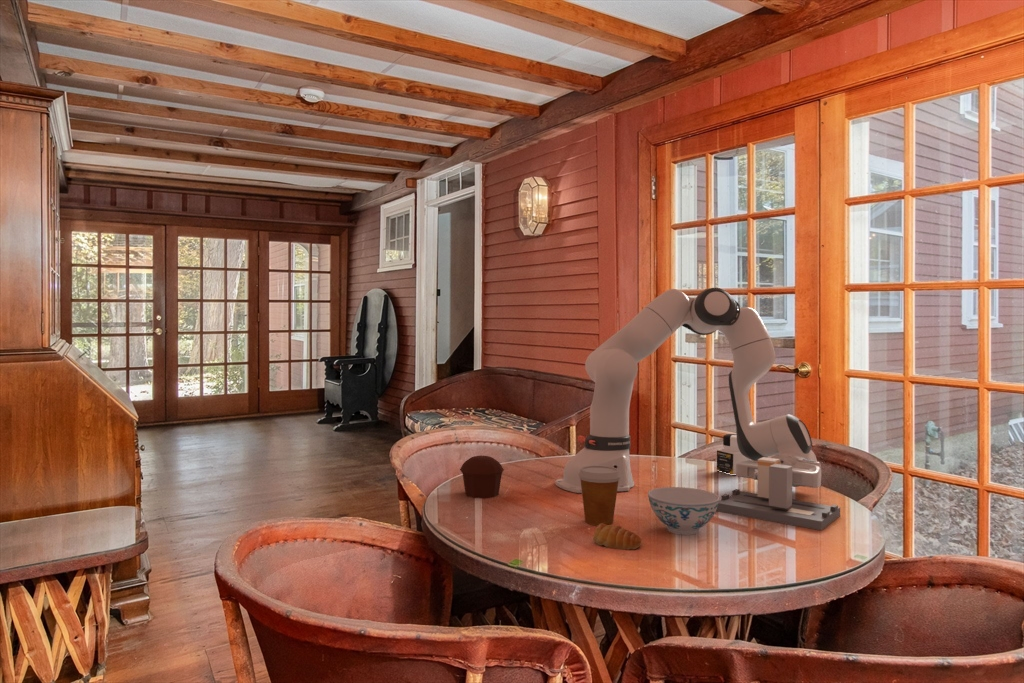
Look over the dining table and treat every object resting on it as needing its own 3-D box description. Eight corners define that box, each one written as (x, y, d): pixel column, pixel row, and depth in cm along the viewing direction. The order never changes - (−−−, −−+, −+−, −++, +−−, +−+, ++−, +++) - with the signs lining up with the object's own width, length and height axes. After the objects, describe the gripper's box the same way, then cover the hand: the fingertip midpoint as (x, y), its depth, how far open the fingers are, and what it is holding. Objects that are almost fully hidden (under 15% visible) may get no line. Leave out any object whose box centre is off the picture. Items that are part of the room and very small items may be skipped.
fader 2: (768, 508, 150) (769, 466, 150) (774, 504, 153) (774, 463, 153) (786, 511, 148) (787, 468, 148) (792, 507, 151) (792, 466, 151)
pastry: (646, 545, 131) (646, 526, 131) (634, 554, 125) (634, 535, 125) (603, 537, 136) (603, 519, 136) (590, 546, 130) (590, 527, 130)
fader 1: (757, 498, 159) (757, 459, 159) (762, 495, 162) (763, 457, 162) (774, 501, 156) (774, 461, 156) (779, 498, 159) (780, 459, 159)
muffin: (510, 492, 174) (510, 455, 174) (492, 501, 164) (492, 462, 164) (471, 487, 179) (472, 451, 179) (451, 496, 169) (452, 458, 169)
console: (715, 510, 156) (715, 498, 156) (739, 498, 169) (739, 487, 169) (821, 530, 141) (822, 516, 141) (840, 515, 153) (840, 503, 153)
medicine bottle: (716, 471, 203) (716, 433, 203) (733, 469, 206) (733, 432, 206) (732, 476, 197) (733, 436, 197) (750, 474, 200) (750, 435, 200)
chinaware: (670, 543, 131) (670, 505, 131) (635, 523, 145) (636, 489, 145) (733, 537, 135) (733, 501, 135) (694, 518, 150) (694, 485, 150)
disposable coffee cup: (626, 520, 148) (626, 468, 148) (610, 530, 140) (611, 475, 139) (588, 514, 153) (588, 463, 153) (570, 523, 144) (571, 470, 144)
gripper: (746, 452, 176) (726, 460, 165) (827, 462, 162) (811, 471, 152) (746, 476, 176) (726, 484, 165) (827, 487, 162) (810, 497, 152)
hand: (767, 478), depth 158 cm, fingers closed on fader 1, 4 cm apart
